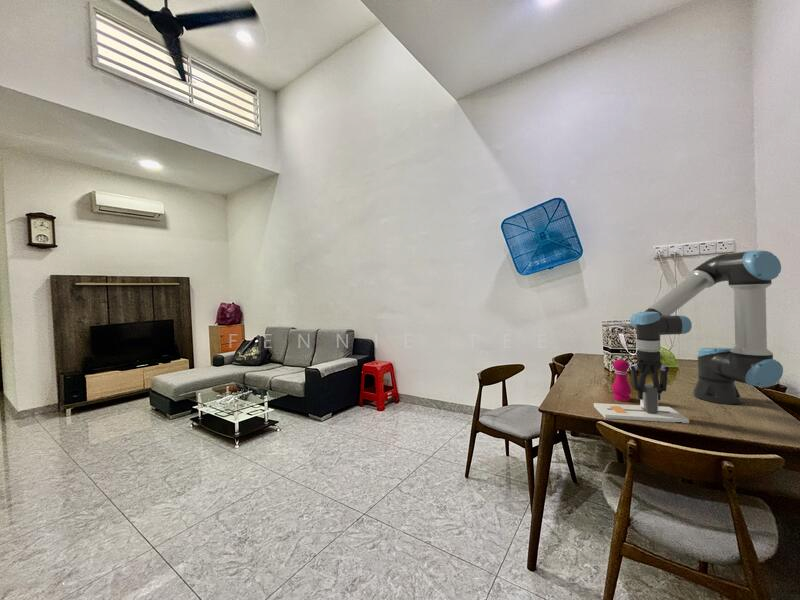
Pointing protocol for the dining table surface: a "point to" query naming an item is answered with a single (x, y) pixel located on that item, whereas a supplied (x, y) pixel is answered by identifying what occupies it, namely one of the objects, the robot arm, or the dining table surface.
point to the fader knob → (651, 399)
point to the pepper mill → (621, 380)
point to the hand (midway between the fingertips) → (649, 407)
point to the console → (639, 413)
